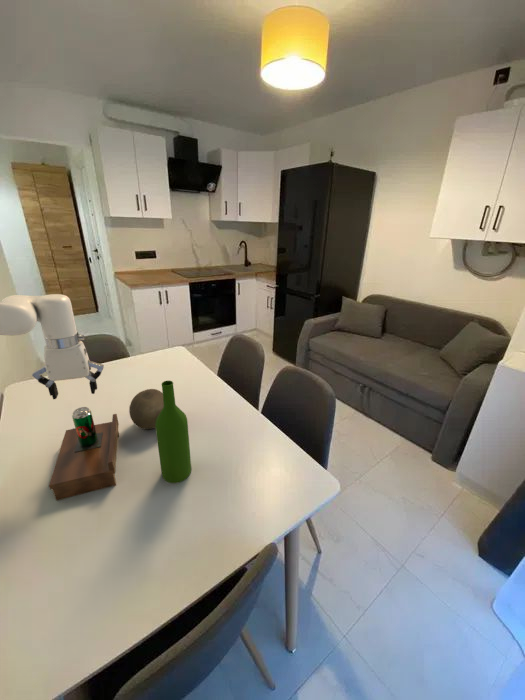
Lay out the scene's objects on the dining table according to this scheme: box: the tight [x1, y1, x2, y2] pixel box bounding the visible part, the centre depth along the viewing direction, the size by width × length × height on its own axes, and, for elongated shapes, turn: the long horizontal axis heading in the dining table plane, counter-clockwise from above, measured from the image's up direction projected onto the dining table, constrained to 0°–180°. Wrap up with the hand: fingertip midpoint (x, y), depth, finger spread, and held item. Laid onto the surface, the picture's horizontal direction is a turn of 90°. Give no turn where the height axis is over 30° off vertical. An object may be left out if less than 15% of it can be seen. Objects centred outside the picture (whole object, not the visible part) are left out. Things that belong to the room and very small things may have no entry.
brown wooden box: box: [48, 413, 120, 501], centre depth 92 cm, size 16×24×9 cm, turn 22°
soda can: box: [71, 406, 97, 446], centre depth 91 cm, size 5×5×12 cm
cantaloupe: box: [128, 388, 164, 430], centre depth 108 cm, size 14×14×15 cm
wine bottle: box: [154, 380, 192, 484], centre depth 85 cm, size 9×9×32 cm
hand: (75, 394), depth 86 cm, fingers open, 9 cm apart
